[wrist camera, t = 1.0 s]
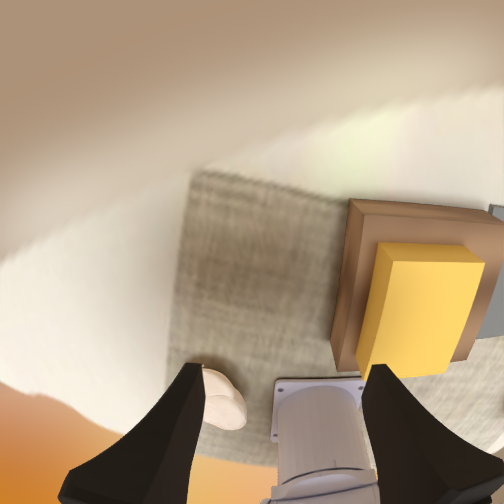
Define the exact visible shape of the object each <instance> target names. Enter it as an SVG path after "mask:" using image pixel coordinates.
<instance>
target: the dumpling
mask: <svg viewBox="0 0 504 504" xmlns="http://www.w3.org/2000/svg"><path fill="white" fill-rule="evenodd" d="M203 366H204V365H202V367H203ZM202 372H203V379H204V387H205V394H206V400H205V408H204V416H203V421H204V422H206V423H210V424H213V425H215V426H217V427H219V428H221V429H225V430H237V429H240V428H242V427H243V426H244V425H245V424H246V422H247V408H246V404H245V401H244V399H243V397H242V395H241V394H240V392H239V391H238V390H237V389H235V388H234V387H233V385H232V384H231V382H230V381H229V380H228V378H227V377H226V376H225V375H223V374H222V373H220V372H218V371H215V370H212V369H206V368H202Z"/></svg>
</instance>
